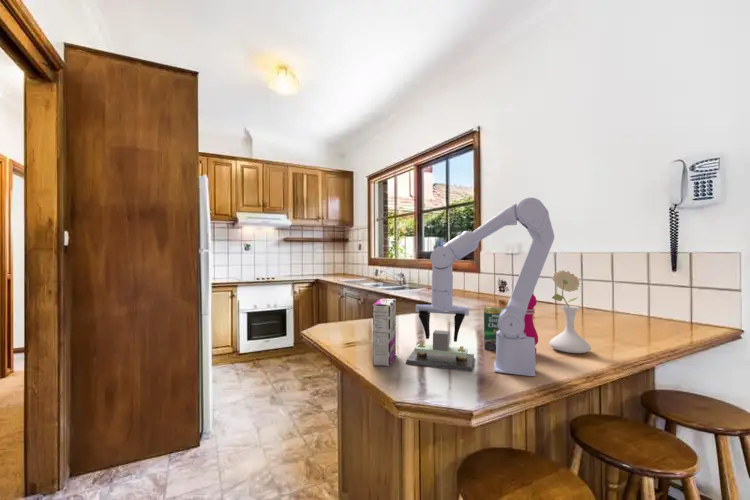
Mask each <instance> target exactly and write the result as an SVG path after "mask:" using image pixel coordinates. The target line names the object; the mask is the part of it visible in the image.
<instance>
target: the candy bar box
mask: <svg viewBox="0 0 750 500" xmlns="http://www.w3.org/2000/svg"><path fill="white" fill-rule="evenodd" d="M396 311H397V299H396V298H380V299H378V300H377V301H376V302H375V303H373V304H372V365H373V366H375V365H376V367H391V365H392V363H393V361H394V358H395V357H396V355H397V353H396V351H397V348H396V347H397V346H396V345H397V342H396V341H397V339H396V338H397V331H396V330H397V328H396V326H397V324H396V323H397V312H396Z"/></svg>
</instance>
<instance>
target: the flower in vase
mask: <svg viewBox="0 0 750 500" xmlns="http://www.w3.org/2000/svg"><path fill="white" fill-rule="evenodd" d="M552 277H553V278H552V281H553V282H554V284H555V286H557V287H558V288H559V289H560V290H561V295H560V294H559V293H555V294H554V295H553V296H552V297H551V299H553V300H556V301H558V302H562V301H564V302H565V304H566V305H561V306H560V307H561V309H562V311H563V312H564V316H565V328H564V330H563V331H562V332H561V333H559V334H557V335H556V336H554V337H553V338H552V339H550V341H549V345H550V347H551V348H553V349H555V350H557V351H560V352H564V353H570V354H571V353H572V354H585V353H588V352H590V351H591V350H592V347H591V345H590V344H589V343H588V342H587V341H586V339H585V338H583V337H582V336H581V335H579V333H578V332H576V330H575V318H576V313H577V312H578V311H579V309H580V307H579V306H577V305H569V304H568V303H570V302H572V301H575V300H577V299H578V298H579V296H577V297H574V298H570V300H568V301H566V298H565V295H564V291H565V292H568V293H569V292H570V293H571V292H575V291H578V290H579V287H580V284H581V283H580V281H579V280H578V277H577V276H575V274H574V273H571V272H570V271H568V270H567V271H566V270H563V269H562V270H559V271H555V272H554V273H553V276H552Z"/></svg>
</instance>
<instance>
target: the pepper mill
mask: <svg viewBox="0 0 750 500" xmlns="http://www.w3.org/2000/svg"><path fill="white" fill-rule="evenodd" d="M536 305H537V297H536V295H535V294H532V296H531V299H530V301H529V304H528V307H527V311H526V314H525V317H524V323H525V328H524V331H523V332H524V333H526V336H527V337H533V338H534V340H535V346H536V345H537V344H538V343H539V336H538V335H539V334H538V332H537V330H536V327H535V325H534V319H533V318H534V314H536V313H535V310H536V309H535V306H536ZM536 355H537V347H535V356H536Z"/></svg>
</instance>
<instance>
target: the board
mask: <svg viewBox="0 0 750 500" xmlns="http://www.w3.org/2000/svg"><path fill="white" fill-rule="evenodd" d="M468 349H469V348H465V347H463V352H462V351H460V347H455V346H450V331H449V330H437V329H435V330H434V331H433V332H432V344H425V343H423V348H422V347H420V343H417V344H416V345H415V346H414V349H413V351H414V352H421V353H430V354H440V355H449V356H459V357H467V354H469V353H468V351H469V350H468Z"/></svg>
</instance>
